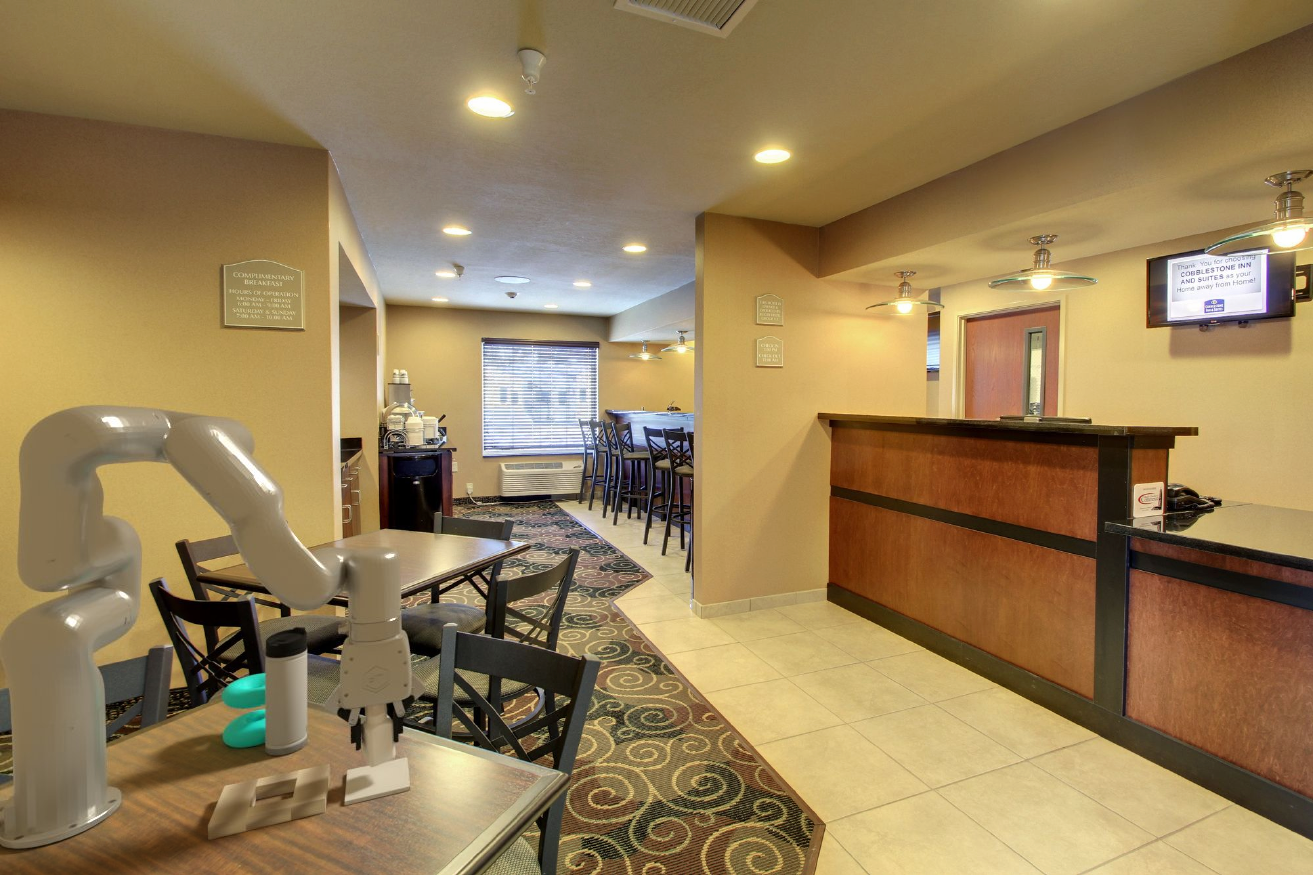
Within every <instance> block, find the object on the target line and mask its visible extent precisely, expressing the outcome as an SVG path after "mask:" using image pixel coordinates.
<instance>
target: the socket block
mask: <svg viewBox="0 0 1313 875" xmlns="http://www.w3.org/2000/svg"><path fill="white" fill-rule="evenodd" d="M330 780H331V764H330V763H327V764H323V765H322V764H321V765H318V766H312V767H307V768H303V769H298V770H294V771H288V772H285V773H279V774H274V775H269V776H266V777H265V776H264V777H261V778H256V779H250V780H246V781H242V782H237V783H232V784H226V785H224V786H223V789H222V791H221V794H220V796H219V799H218V801H217V803H216V805H215V808H214V810H213V812H212V815H211V818H210V820H209V822H208V823H207V824H208V825H207V836H208V837H207V839H208V841H210V840H214V839H218V838H221V837H222V838H223V837H226V836H231V835H235V834H239V833H244V832H247V831H251V830H255V829H261V828H265V827H268V826H273V825H277V824H281V823H286V822H289V821H294V820H298V819H302V818H306V817H310V816H315V815H319V814H323V813H326V809H327V808H326V807H327V802H328V796H329V794H328V793H329V787H330ZM288 793H293V795H292V797H288V798H284V799H281V800H280V799H279V800H276V801H271V802H268V803H262V804H257V805H255V804H256V801H257V800H262V799H266V798H271V797H276V796H280V795H284V794H288Z"/></svg>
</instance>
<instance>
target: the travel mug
mask: <svg viewBox="0 0 1313 875" xmlns="http://www.w3.org/2000/svg"><path fill="white" fill-rule="evenodd" d="M307 634H308V632H307V630H306V627H304V626H295V627H293V628H291V629H290V628H289V629H285V630H281V631H278V632H275V633H274V634H271V635H269V636H268V637H267V638H266V640H265V655H264V656H265V662H264V664H265V665H264V666H265V667H264V668H265V670H264V671H265V672H264V673H265V705H264V706H265V708H264V709H265V741H266V743H264V746H265V747H264V748H265V753H266V754H267V755H270V756H285V755H288V754H292V753H295V752H297V751H298V750H301V749H303V747H305V746H306V744H308V743H307V742H308V644H307V643H308V635H307Z"/></svg>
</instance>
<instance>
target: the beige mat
mask: <svg viewBox="0 0 1313 875" xmlns="http://www.w3.org/2000/svg"><path fill="white" fill-rule="evenodd" d="M408 791H411V782H410V769H409V760H408V757H403V758H397V759H392V760H390V761H387V762H385V763H383V764H380V765H378V766H375V767H370V766H369V765H365V766H360V767H356V768H351V769H347V770H346V782H345V793H344V794H345V795H344V806H348V805H353V804H357V803H361V802H365V801H369V800H374V799H379V798H382V797H387V796H391V795H395V794H399V793H403V792H408Z"/></svg>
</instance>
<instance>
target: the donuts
mask: <svg viewBox="0 0 1313 875" xmlns="http://www.w3.org/2000/svg"><path fill="white" fill-rule="evenodd" d="M221 700H222V702H223V704H224V705H225V706H227V707H229V708H232V709H236V710H237V709H239V710H248V709H254V708H255V709H256V708H259V707H262V706H265V672H264V673H263V672H262V673H256V674H251V675H249V676H245V677H242V678H239V679H236V680H234V681H233V682H231V683H230V684H228V685H227V686H226V687H225V688H224V689H223V691H222V693H221ZM222 741H223V742H224V743H225V744H226V745H227V746H229V747H232V748H252V747H256V746H259V745H263V744H265V743H266V741H265V708H262V709H257V710H252V711H249V712H246V713H244V714H241V715H240V716H238V717H236V718H234V719H233V720H232V721H230V722H229V723H228V724H227V725H226V727H225V728H224V730H223V731H222Z"/></svg>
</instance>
